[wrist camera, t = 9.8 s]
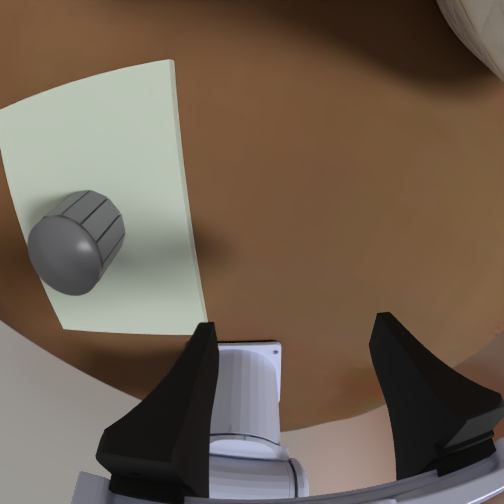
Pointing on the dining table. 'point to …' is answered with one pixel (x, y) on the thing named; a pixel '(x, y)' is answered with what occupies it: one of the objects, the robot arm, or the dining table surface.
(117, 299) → the post board
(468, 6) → the vase
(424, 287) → the dining table surface
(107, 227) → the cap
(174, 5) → the dining table surface
